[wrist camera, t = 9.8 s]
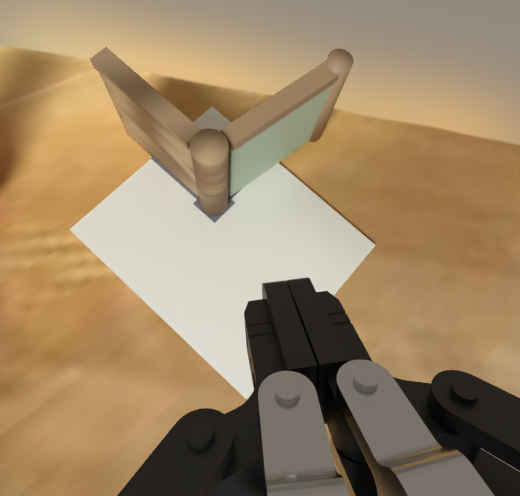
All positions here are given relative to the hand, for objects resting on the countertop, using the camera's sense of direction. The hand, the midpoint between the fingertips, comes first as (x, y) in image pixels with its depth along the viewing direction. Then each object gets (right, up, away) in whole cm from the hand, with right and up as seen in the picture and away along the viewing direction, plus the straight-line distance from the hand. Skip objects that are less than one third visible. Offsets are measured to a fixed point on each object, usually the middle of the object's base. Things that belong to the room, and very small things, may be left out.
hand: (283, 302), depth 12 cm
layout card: (-4, +3, +20) cm, 21 cm away
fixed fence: (-8, +9, +21) cm, 25 cm away
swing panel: (+1, +10, +22) cm, 24 cm away
